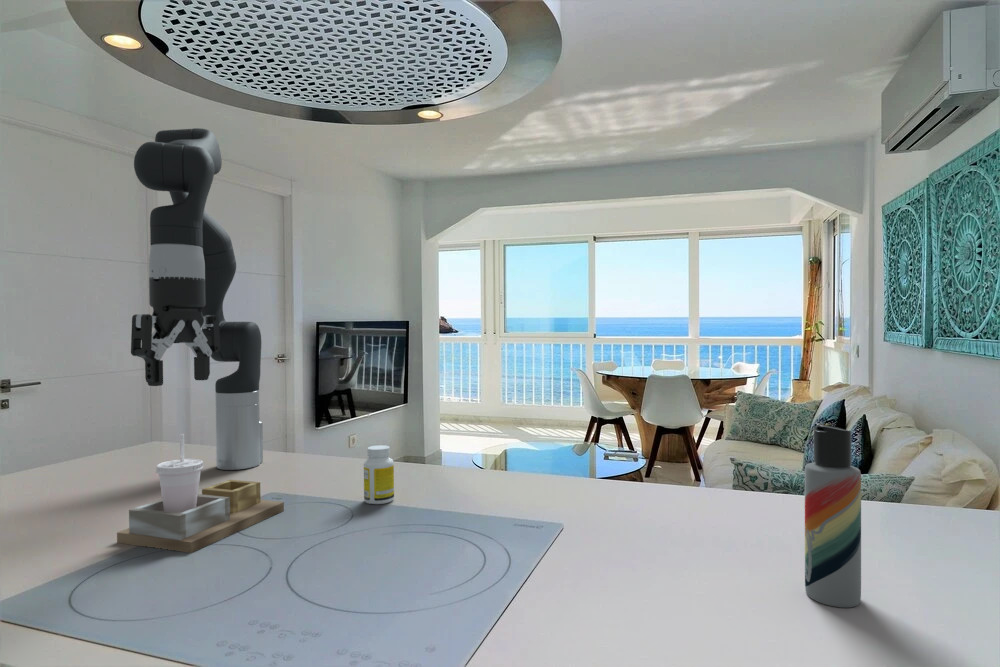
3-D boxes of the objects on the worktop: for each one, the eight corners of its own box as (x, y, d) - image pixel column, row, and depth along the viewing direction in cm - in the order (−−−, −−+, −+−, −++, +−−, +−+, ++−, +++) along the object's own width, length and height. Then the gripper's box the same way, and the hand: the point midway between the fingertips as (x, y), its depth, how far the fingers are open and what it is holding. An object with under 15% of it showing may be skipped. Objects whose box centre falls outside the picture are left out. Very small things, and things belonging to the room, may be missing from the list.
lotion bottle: (794, 587, 71) (794, 421, 71) (839, 585, 72) (839, 420, 72) (824, 609, 66) (824, 430, 65) (873, 607, 66) (872, 428, 66)
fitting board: (219, 503, 107) (218, 476, 107) (283, 510, 103) (283, 481, 103) (117, 542, 88) (116, 509, 88) (191, 552, 84) (190, 517, 84)
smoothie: (212, 519, 94) (211, 431, 93) (187, 534, 87) (186, 439, 87) (174, 518, 94) (173, 431, 94) (146, 532, 88) (145, 438, 88)
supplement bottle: (399, 497, 110) (398, 445, 110) (384, 506, 105) (384, 451, 105) (374, 495, 112) (373, 443, 112) (358, 503, 107) (357, 449, 107)
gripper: (195, 280, 98) (196, 378, 98) (115, 273, 85) (117, 387, 85) (232, 279, 96) (233, 379, 96) (156, 272, 82) (158, 388, 82)
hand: (179, 382), depth 90 cm, fingers open, 8 cm apart
